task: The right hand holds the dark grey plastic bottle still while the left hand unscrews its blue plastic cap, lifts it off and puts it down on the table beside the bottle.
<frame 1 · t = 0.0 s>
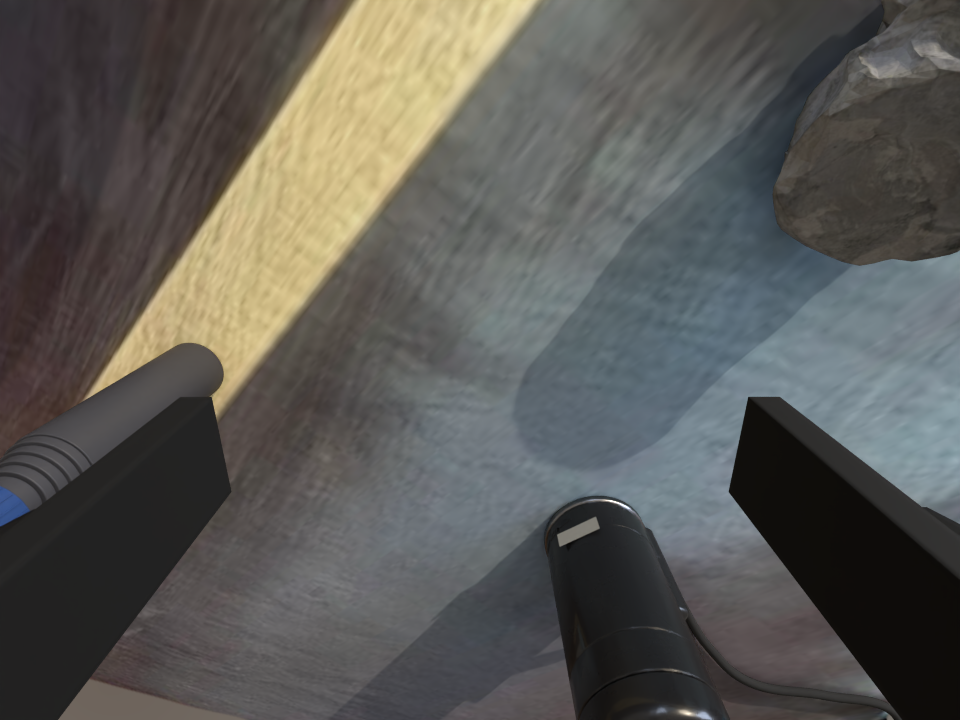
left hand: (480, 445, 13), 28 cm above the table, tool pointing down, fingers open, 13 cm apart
bottle: (194, 369, 42), on the table
decorative stone 2: (957, 41, 34), on the table
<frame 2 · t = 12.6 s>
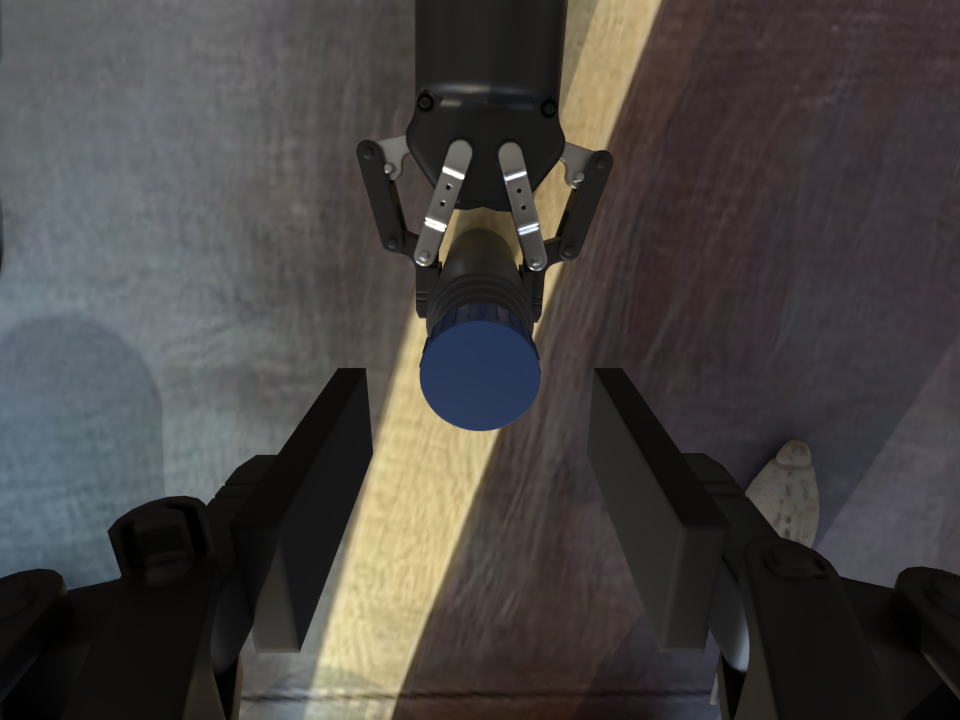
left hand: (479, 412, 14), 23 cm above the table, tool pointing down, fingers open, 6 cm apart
right hand: (477, 325, 31), fingers closed on bottle, 4 cm apart
cap: (480, 374, 17), point 21 cm above the table, screwed on, not yet turned
decorative stone: (764, 511, 44), on the table
bottle: (479, 263, 36), on the table, touching right hand
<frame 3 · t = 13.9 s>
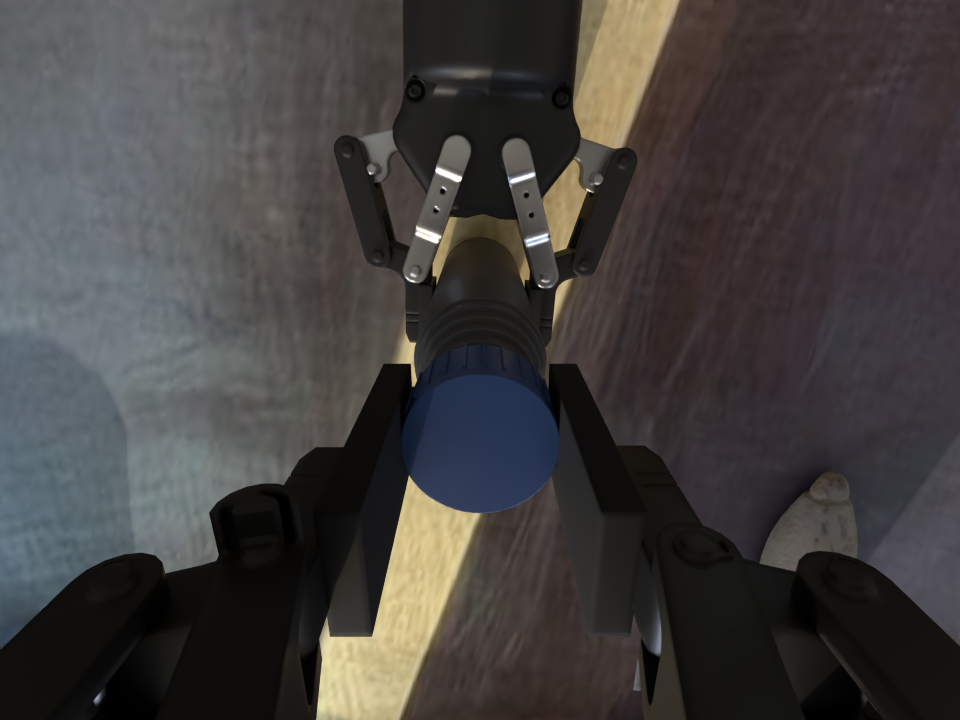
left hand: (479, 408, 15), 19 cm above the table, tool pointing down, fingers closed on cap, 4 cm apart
right hand: (477, 349, 27), fingers closed on bottle, 4 cm apart
cap: (480, 441, 13), point 21 cm above the table, screwed on, not yet turned, touching left hand
decorative stone: (793, 547, 40), on the table
bottle: (480, 275, 32), on the table, touching right hand
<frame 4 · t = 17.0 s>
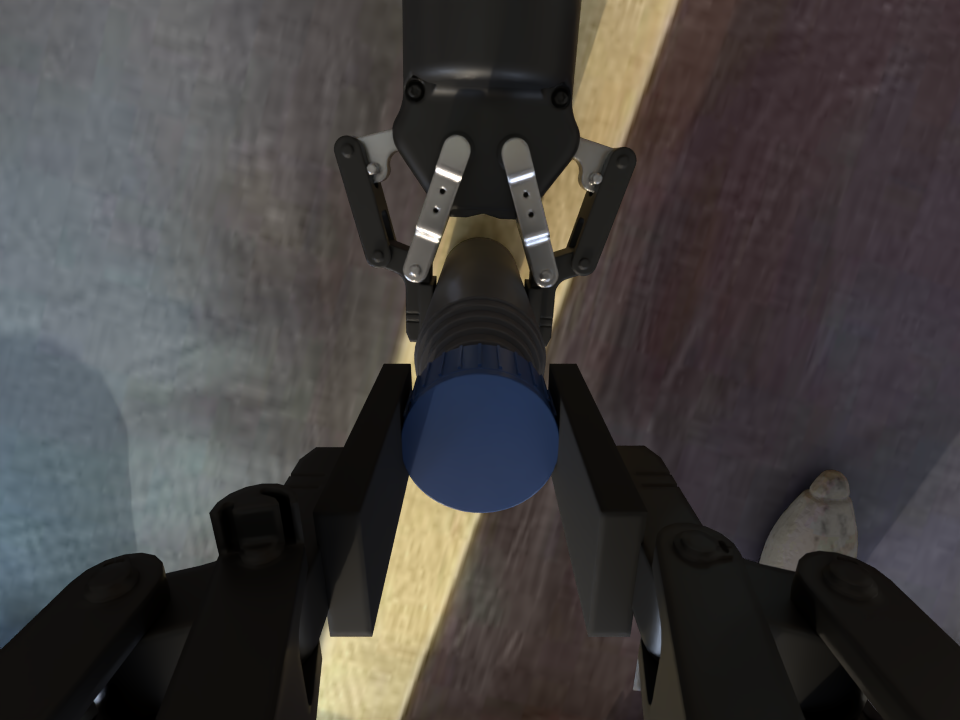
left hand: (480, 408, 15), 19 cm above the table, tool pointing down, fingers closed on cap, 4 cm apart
right hand: (477, 348, 27), fingers closed on bottle, 4 cm apart
cap: (480, 441, 13), point 21 cm above the table, turned 90° so far, risen 0.1 cm, still on its thread, touching left hand
decorative stone: (793, 546, 40), on the table
bottle: (480, 275, 32), on the table, touching right hand
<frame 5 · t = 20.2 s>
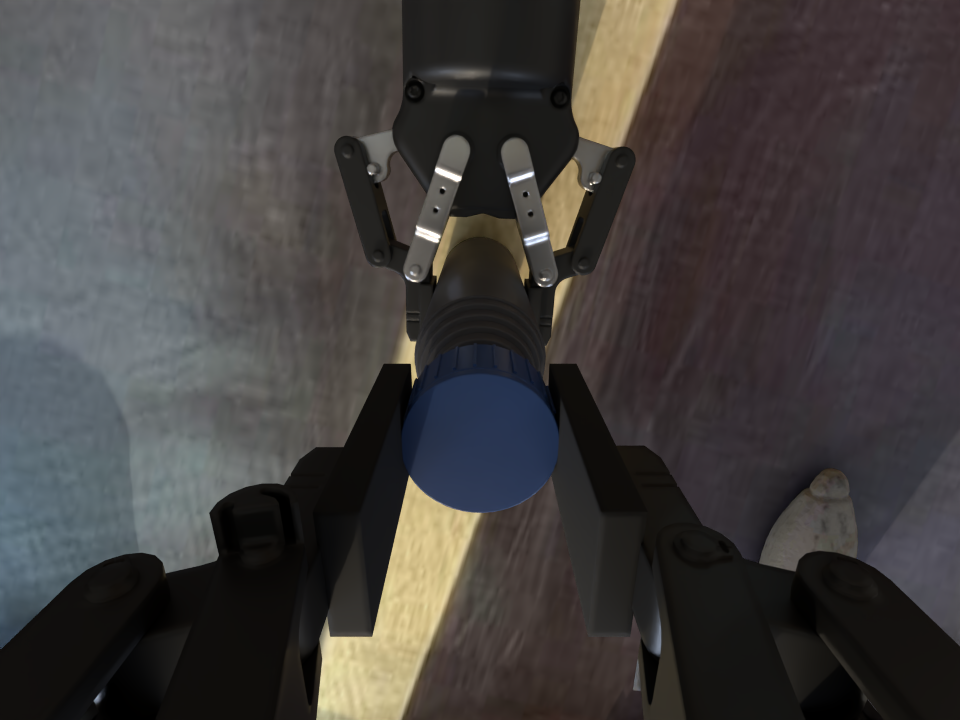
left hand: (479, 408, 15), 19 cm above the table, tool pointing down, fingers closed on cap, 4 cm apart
right hand: (477, 348, 27), fingers closed on bottle, 4 cm apart
cap: (480, 441, 13), point 21 cm above the table, turned 179° so far, risen 0.2 cm, still on its thread, touching left hand
decorative stone: (793, 544, 40), on the table
bottle: (480, 275, 32), on the table, touching right hand
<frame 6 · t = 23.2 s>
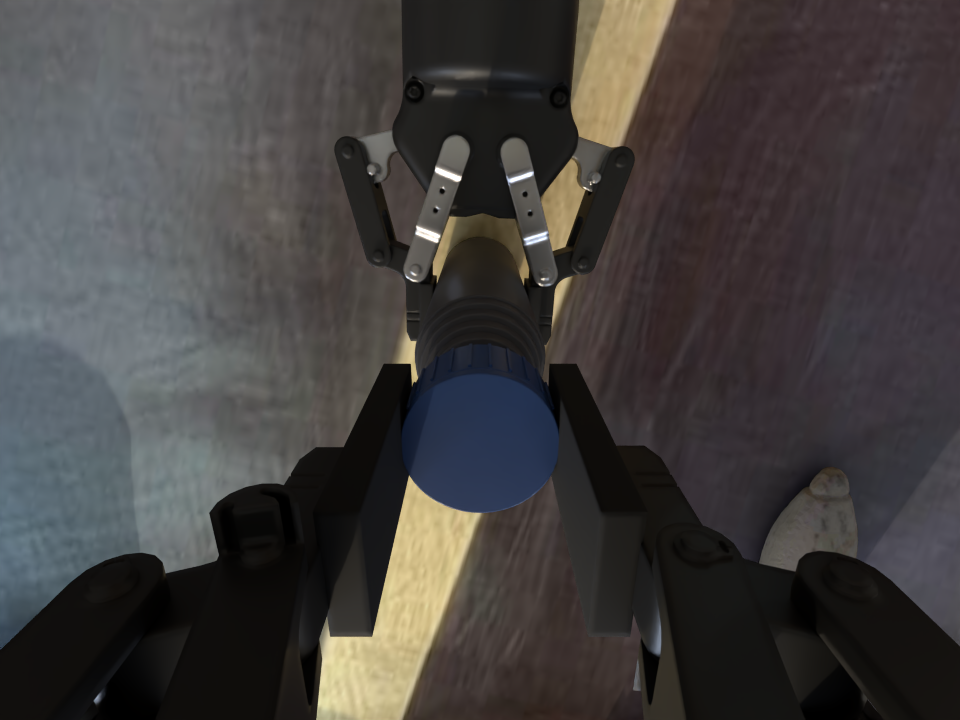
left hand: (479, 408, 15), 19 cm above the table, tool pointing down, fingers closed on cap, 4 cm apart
right hand: (477, 347, 27), fingers closed on bottle, 4 cm apart
cap: (480, 441, 13), point 21 cm above the table, turned 269° so far, risen 0.3 cm, still on its thread, touching left hand
decorative stone: (794, 543, 40), on the table
bottle: (480, 274, 32), on the table, touching right hand
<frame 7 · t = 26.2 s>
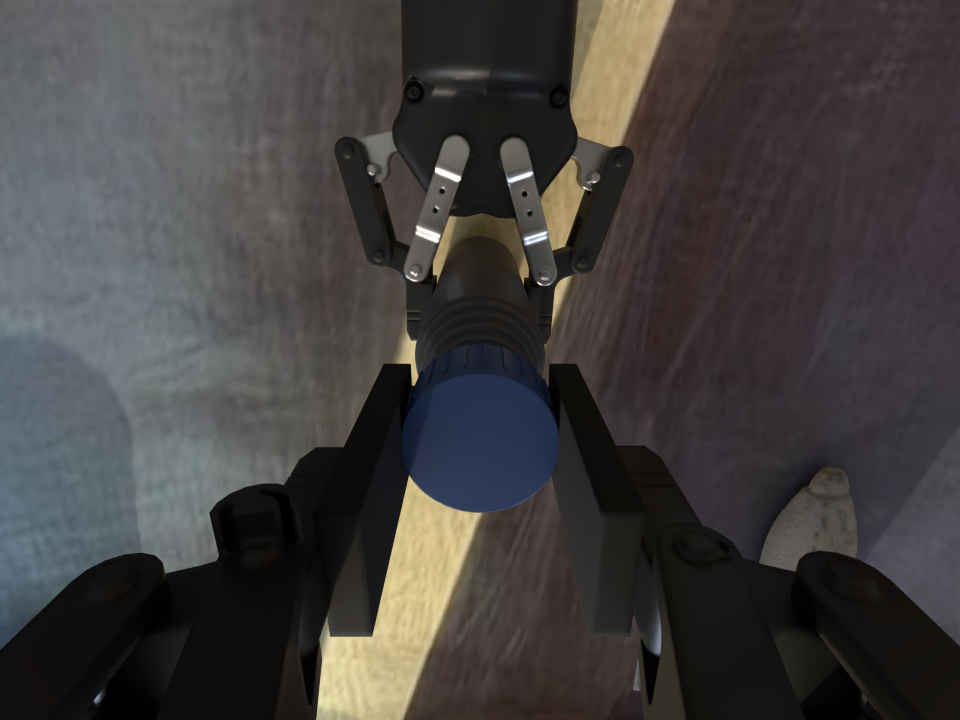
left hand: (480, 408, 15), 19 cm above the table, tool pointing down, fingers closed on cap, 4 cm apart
right hand: (477, 347, 27), fingers closed on bottle, 4 cm apart
cap: (480, 441, 13), point 21 cm above the table, turned 359° so far, risen 0.3 cm, still on its thread, touching left hand
decorative stone: (794, 542, 40), on the table
bottle: (480, 274, 32), on the table, touching right hand
when the left hand's fingers open (1 cm above the table, at t = 35.3 s): cap drops 1 cm, point 2 cm above the table.
when the right hand's fingers open (6 cm above the table, at t = 36.6 s): bottle stays where it is, on the table.
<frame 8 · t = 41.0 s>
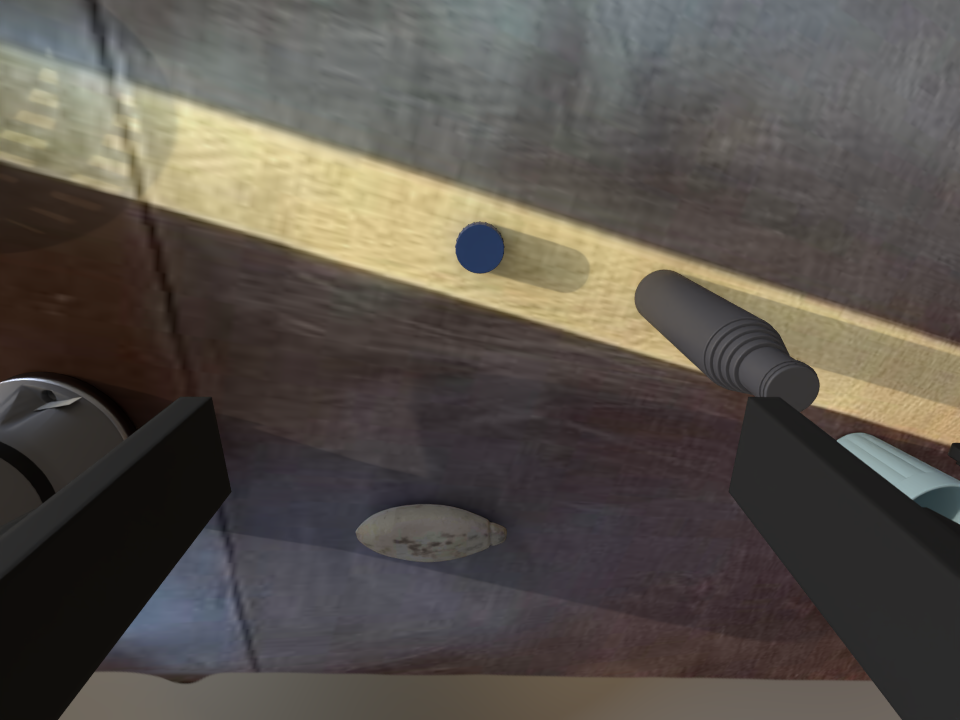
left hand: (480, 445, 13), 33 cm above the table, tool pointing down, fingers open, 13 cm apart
cap: (479, 248, 42), point 2 cm above the table, off its thread
decorative stone: (433, 522, 54), on the table
bottle: (661, 295, 45), on the table
cup: (850, 455, 51), on the table
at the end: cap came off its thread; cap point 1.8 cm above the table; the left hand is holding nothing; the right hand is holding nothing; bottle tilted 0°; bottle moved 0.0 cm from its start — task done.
